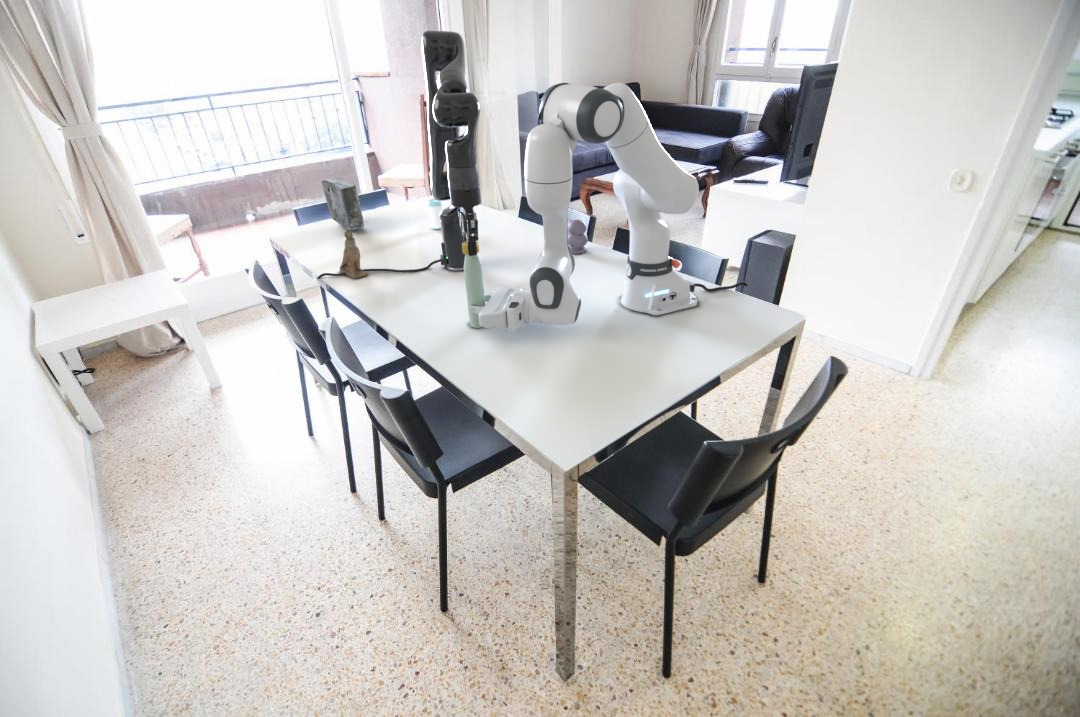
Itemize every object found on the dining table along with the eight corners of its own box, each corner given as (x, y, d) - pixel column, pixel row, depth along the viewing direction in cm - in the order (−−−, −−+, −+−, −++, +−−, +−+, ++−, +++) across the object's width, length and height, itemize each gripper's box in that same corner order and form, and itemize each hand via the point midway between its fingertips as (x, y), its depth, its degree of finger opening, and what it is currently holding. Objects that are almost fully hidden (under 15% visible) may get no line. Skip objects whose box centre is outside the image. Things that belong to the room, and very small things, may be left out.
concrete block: (369, 232, 221) (359, 185, 210) (349, 236, 216) (338, 189, 206) (350, 219, 239) (340, 176, 229) (331, 223, 235) (320, 179, 225)
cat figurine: (592, 250, 190) (592, 219, 184) (579, 256, 185) (579, 224, 179) (574, 246, 195) (575, 215, 189) (561, 251, 191) (561, 220, 184)
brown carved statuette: (368, 281, 178) (362, 235, 166) (353, 285, 175) (347, 238, 163) (352, 266, 184) (346, 221, 172) (338, 270, 181) (331, 224, 169)
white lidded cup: (445, 229, 220) (441, 202, 214) (429, 230, 220) (425, 202, 214) (447, 224, 226) (444, 198, 220) (432, 225, 226) (428, 198, 220)
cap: (466, 255, 128) (465, 247, 127) (460, 251, 131) (459, 242, 130) (481, 252, 130) (481, 244, 128) (475, 248, 133) (474, 239, 132)
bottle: (468, 328, 140) (458, 248, 128) (472, 320, 144) (463, 241, 132) (485, 328, 139) (477, 248, 127) (488, 320, 143) (481, 241, 131)
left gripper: (444, 180, 126) (452, 246, 135) (454, 192, 115) (462, 263, 124) (473, 177, 128) (479, 242, 137) (485, 189, 117) (491, 259, 126)
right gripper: (529, 281, 143) (484, 278, 145) (511, 312, 126) (459, 309, 128) (530, 301, 146) (485, 298, 149) (512, 334, 129) (462, 330, 132)
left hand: (471, 252), depth 130 cm, fingers closed on cap, 4 cm apart
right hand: (473, 303), depth 138 cm, fingers closed on bottle, 5 cm apart
